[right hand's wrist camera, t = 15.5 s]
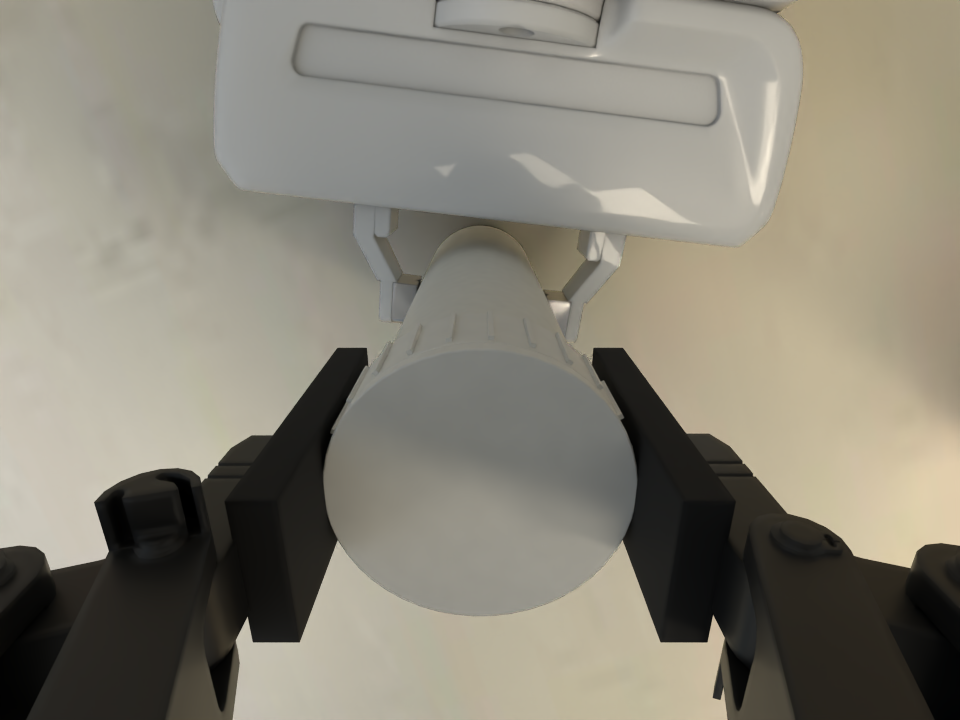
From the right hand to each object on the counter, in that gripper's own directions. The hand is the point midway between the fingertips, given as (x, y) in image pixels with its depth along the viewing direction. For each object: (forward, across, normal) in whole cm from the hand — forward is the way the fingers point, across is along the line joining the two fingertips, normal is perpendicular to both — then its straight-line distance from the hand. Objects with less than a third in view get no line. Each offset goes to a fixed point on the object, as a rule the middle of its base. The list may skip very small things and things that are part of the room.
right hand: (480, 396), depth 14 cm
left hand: (+9, 0, -1) cm, 9 cm away
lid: (-4, 0, 0) cm, 4 cm away
